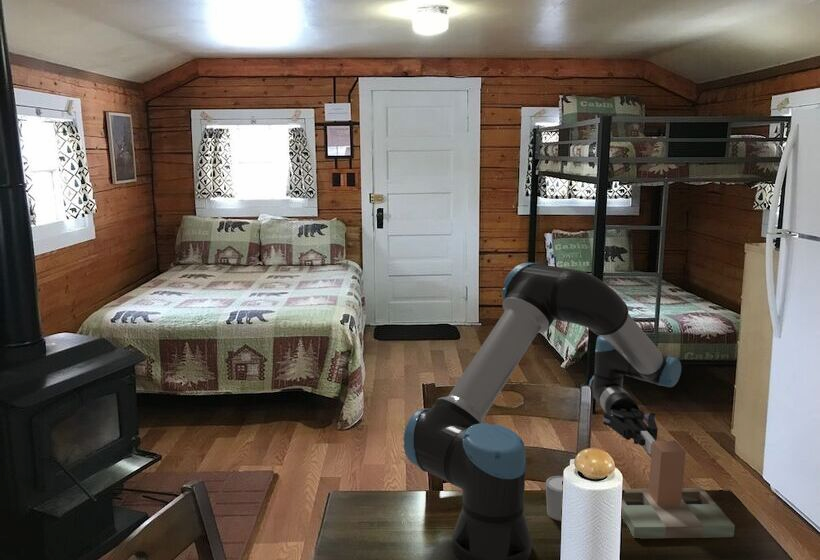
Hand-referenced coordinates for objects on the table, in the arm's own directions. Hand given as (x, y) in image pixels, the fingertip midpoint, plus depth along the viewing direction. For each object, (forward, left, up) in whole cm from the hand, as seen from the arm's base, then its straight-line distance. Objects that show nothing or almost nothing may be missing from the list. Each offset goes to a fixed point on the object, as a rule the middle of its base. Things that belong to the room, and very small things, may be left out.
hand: (653, 449), depth 150 cm
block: (+2, -7, -7) cm, 11 cm away
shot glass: (-20, -14, -10) cm, 26 cm away
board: (+2, -10, -10) cm, 15 cm away
